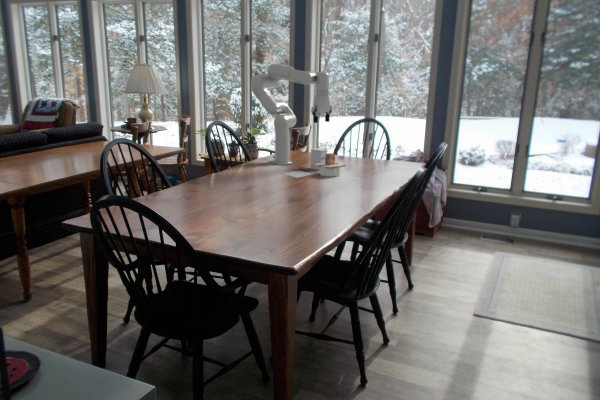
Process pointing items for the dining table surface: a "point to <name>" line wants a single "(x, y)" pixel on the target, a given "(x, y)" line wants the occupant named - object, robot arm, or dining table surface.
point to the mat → (298, 174)
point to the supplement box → (317, 157)
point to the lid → (329, 162)
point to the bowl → (329, 172)
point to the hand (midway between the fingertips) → (321, 122)
